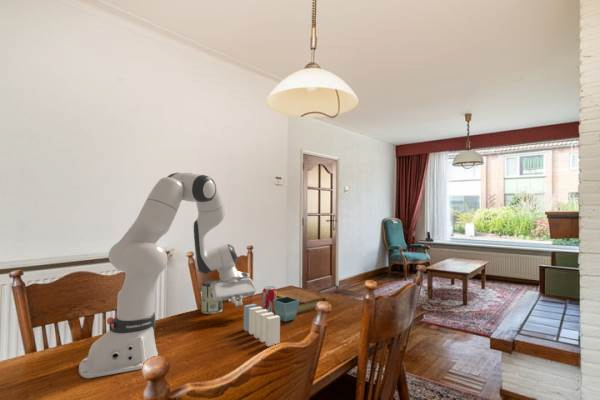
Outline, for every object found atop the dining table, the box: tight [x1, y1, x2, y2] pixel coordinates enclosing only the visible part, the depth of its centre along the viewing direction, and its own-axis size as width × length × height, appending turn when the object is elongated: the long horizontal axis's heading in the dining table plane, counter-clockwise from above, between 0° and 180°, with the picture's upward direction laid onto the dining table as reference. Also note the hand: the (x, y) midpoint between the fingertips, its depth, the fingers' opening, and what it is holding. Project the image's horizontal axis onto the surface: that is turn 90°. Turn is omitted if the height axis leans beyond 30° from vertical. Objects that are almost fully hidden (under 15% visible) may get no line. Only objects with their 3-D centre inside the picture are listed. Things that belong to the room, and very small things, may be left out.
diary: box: [277, 288, 327, 315], centre depth 170 cm, size 23×19×6 cm
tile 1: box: [248, 306, 262, 336], centre depth 132 cm, size 5×2×10 cm, turn 126°
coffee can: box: [201, 279, 224, 315], centre depth 159 cm, size 10×10×14 cm
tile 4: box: [265, 314, 281, 347], centre depth 121 cm, size 5×2×10 cm, turn 126°
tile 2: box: [253, 309, 268, 339], centre depth 128 cm, size 5×2×10 cm, turn 126°
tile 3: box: [259, 312, 275, 343], centre depth 124 cm, size 5×2×10 cm, turn 126°
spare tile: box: [243, 303, 258, 332], centre depth 135 cm, size 5×2×10 cm, turn 126°
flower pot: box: [273, 297, 299, 323], centre depth 148 cm, size 9×9×9 cm
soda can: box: [261, 285, 278, 313], centre depth 158 cm, size 7×7×12 cm
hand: (239, 305), depth 144 cm, fingers closed
